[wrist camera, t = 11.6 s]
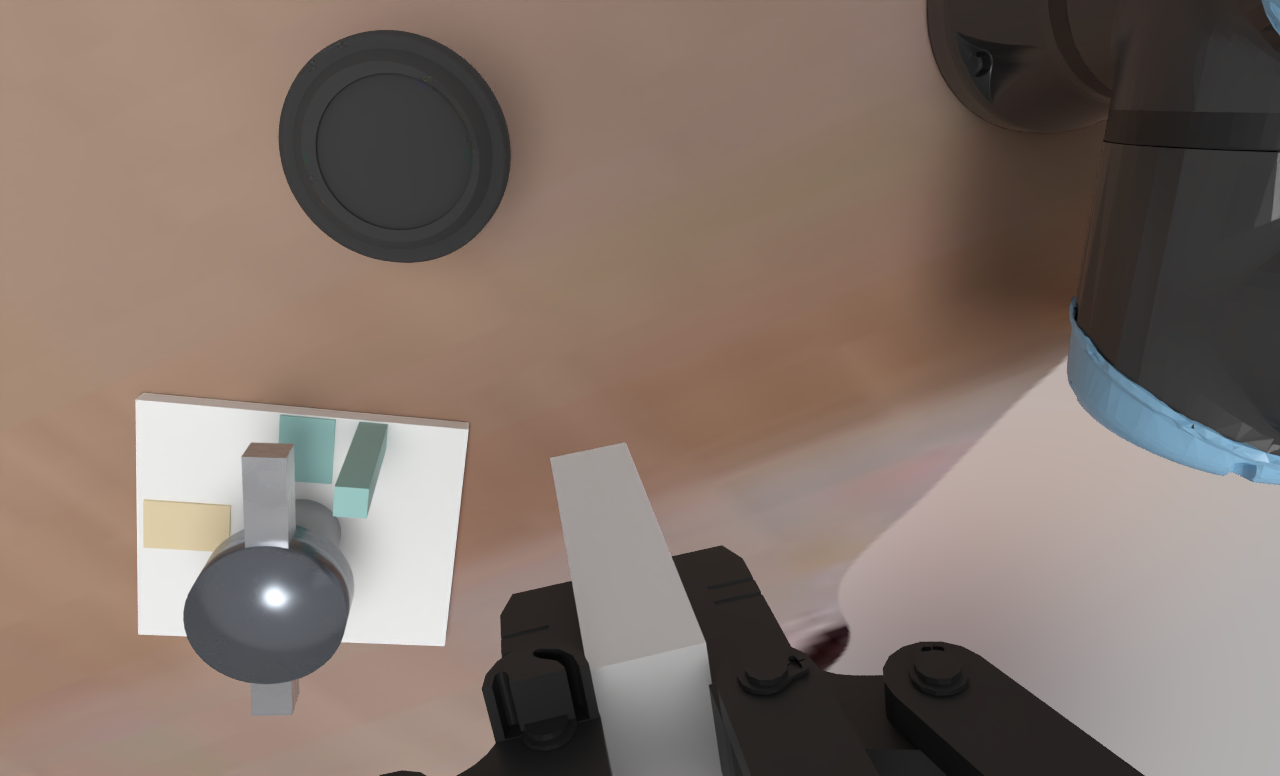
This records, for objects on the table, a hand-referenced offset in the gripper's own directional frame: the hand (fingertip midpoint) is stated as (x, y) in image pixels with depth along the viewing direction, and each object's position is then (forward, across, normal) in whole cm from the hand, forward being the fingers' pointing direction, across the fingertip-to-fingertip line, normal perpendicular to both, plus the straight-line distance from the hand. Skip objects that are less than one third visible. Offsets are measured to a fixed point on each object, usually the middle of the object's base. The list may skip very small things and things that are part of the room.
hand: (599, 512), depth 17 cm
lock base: (+34, -16, -15) cm, 41 cm away
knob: (+27, -16, -14) cm, 34 cm away
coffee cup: (+35, -4, +6) cm, 35 cm away
